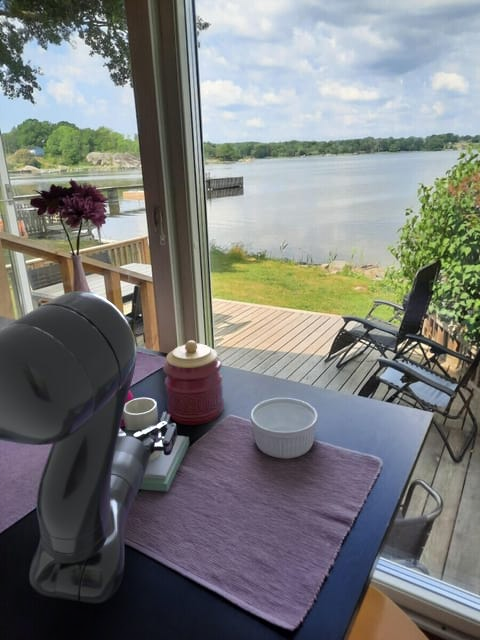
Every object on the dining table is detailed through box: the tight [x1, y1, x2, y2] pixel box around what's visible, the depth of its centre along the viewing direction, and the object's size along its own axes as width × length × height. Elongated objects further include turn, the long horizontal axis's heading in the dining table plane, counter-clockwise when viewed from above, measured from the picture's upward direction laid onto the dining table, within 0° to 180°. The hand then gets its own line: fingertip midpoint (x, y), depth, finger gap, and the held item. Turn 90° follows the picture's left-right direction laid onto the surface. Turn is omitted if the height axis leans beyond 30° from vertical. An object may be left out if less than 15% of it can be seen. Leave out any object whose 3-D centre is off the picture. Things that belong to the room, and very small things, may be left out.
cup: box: [123, 397, 162, 461], centre depth 81 cm, size 6×6×10 cm
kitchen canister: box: [162, 340, 225, 426], centre depth 99 cm, size 13×13×18 cm
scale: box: [139, 435, 190, 492], centre depth 84 cm, size 16×14×3 cm
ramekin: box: [250, 397, 319, 459], centre depth 88 cm, size 13×13×7 cm
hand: (143, 416), depth 83 cm, fingers open, 8 cm apart
